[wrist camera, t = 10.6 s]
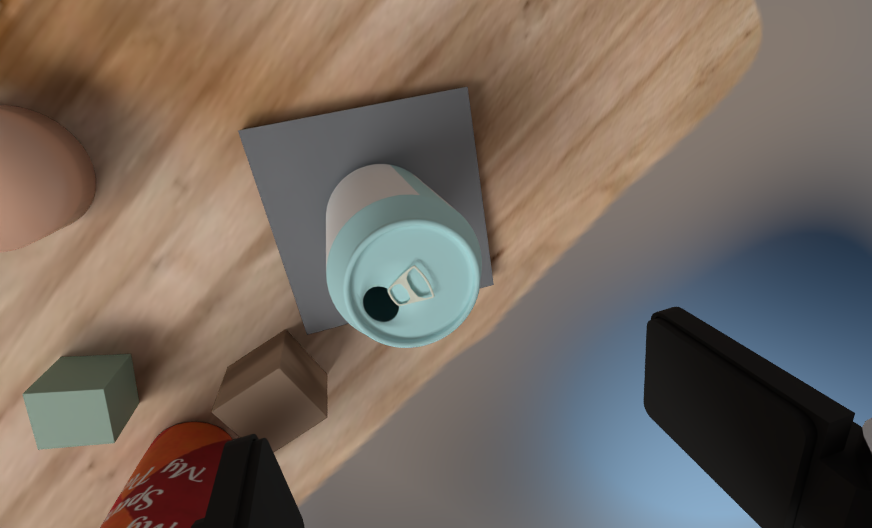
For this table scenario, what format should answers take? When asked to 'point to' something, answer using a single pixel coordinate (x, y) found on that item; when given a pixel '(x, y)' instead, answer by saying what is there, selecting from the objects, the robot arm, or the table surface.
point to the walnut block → (273, 392)
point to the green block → (82, 401)
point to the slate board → (346, 152)
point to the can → (399, 258)
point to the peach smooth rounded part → (39, 177)
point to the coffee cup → (171, 479)
